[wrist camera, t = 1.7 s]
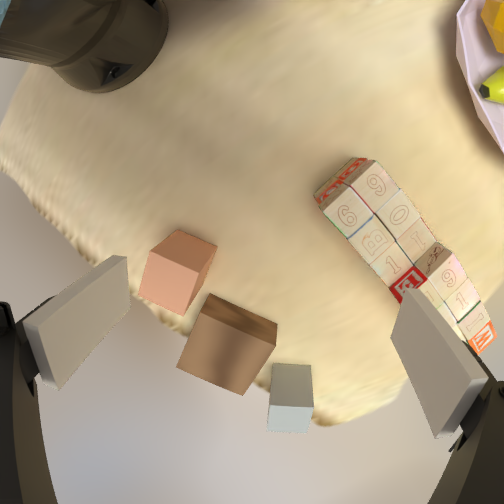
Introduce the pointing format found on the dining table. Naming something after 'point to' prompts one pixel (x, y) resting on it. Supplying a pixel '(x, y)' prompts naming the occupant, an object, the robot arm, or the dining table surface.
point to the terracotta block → (176, 271)
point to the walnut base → (228, 345)
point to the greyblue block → (290, 398)
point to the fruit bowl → (483, 60)
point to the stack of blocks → (403, 246)
